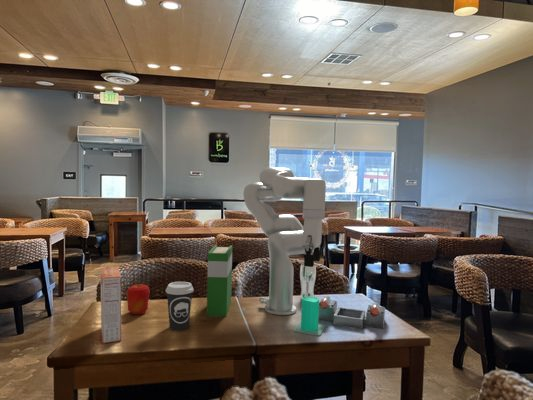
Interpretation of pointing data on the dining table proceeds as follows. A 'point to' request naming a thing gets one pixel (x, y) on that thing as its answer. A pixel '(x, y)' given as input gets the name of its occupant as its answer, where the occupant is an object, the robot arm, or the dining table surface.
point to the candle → (310, 313)
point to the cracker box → (110, 304)
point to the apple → (138, 298)
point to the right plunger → (375, 309)
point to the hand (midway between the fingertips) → (312, 263)
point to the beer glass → (307, 280)
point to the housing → (351, 316)
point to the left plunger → (324, 302)
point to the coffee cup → (179, 304)
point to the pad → (317, 332)
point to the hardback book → (219, 281)
